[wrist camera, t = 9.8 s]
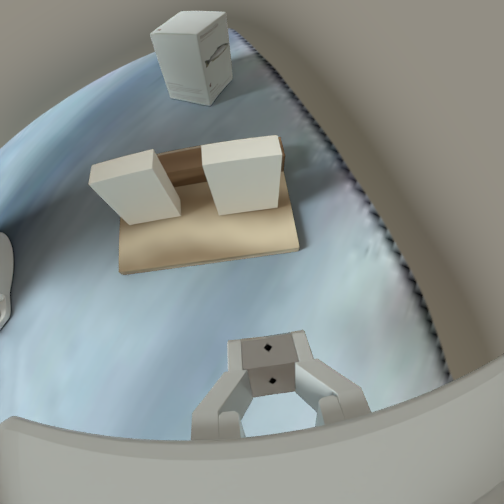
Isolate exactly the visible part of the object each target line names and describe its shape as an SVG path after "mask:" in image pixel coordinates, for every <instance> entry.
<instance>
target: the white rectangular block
mask: <svg viewBox="0 0 504 504" xmlns="http://www.w3.org/2000/svg"><path fill="white" fill-rule="evenodd" d="M201 151H202V166H203V169H204V172H205V175H206V178H207V181H208V184H209V187H210V190H211V193H212V196H213V199H214V202H215V205H216V208H217V211H218V214H219V216H220V215H227V214H234V213H241V212H248V211H256V210H263V209H271V208H278V197H279V186H280V175H281V163H282V152H281V148H280V144H279V140H278V136H277V135H273V136H264V137H255V138H247V139H239V140H232V141H225V142H218V143H212V144H206V145H201Z"/></svg>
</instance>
